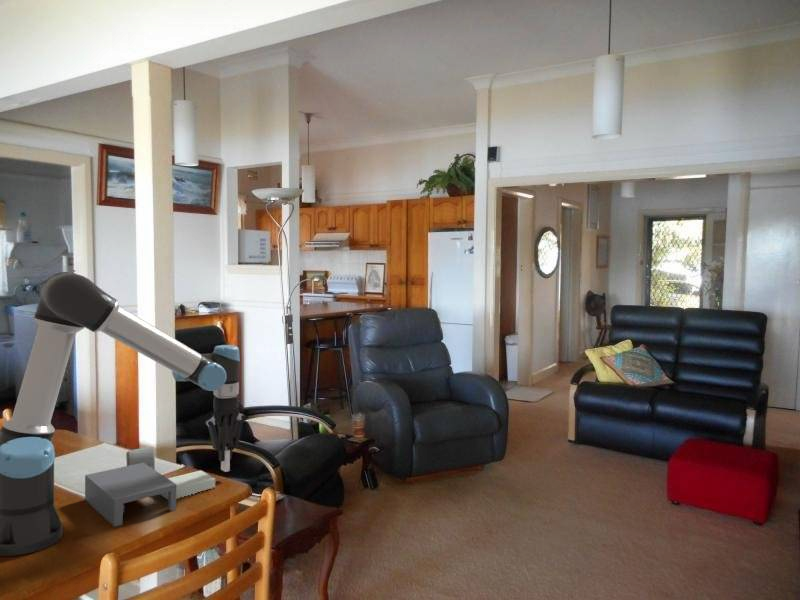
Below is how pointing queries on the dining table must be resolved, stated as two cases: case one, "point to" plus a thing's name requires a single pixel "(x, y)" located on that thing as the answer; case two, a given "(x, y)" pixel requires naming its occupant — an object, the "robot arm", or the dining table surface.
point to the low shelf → (125, 489)
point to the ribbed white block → (191, 483)
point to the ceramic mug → (141, 456)
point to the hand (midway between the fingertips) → (225, 470)
